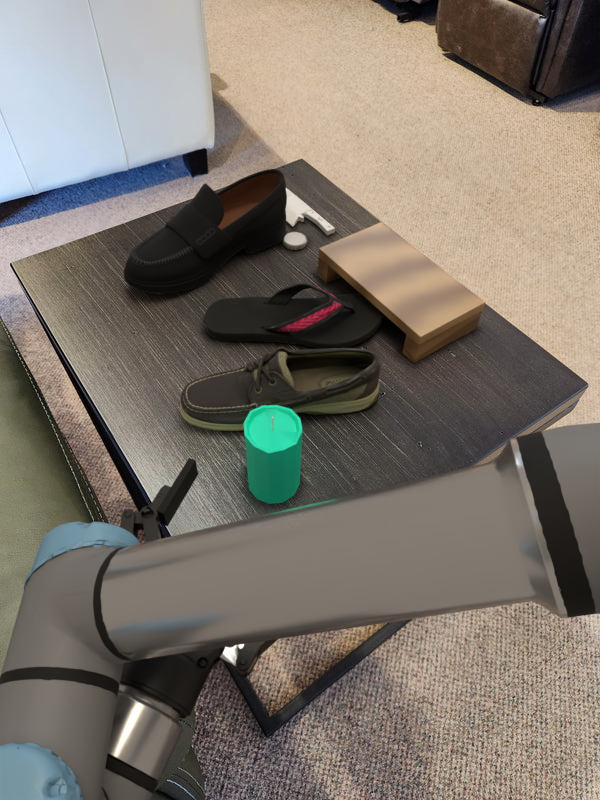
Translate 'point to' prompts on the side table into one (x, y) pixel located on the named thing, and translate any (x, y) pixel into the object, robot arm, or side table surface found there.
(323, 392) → the boat shoe
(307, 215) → the white plastic blade
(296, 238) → the white ridged disc
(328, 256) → the oak shelf
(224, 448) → the side table surface
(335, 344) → the sandal
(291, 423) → the candle
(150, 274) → the loafer
